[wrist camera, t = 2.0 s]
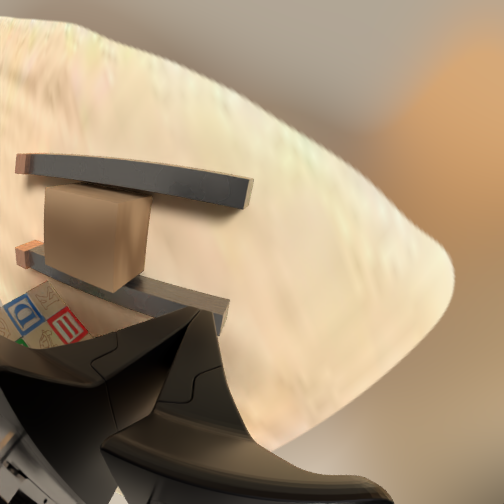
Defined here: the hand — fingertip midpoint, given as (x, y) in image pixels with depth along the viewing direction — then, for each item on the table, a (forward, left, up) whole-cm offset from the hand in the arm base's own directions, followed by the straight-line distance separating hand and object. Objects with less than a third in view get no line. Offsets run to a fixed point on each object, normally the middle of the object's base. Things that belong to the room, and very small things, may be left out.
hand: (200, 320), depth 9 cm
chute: (0, +9, -8) cm, 12 cm away
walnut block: (0, +9, -8) cm, 12 cm away
